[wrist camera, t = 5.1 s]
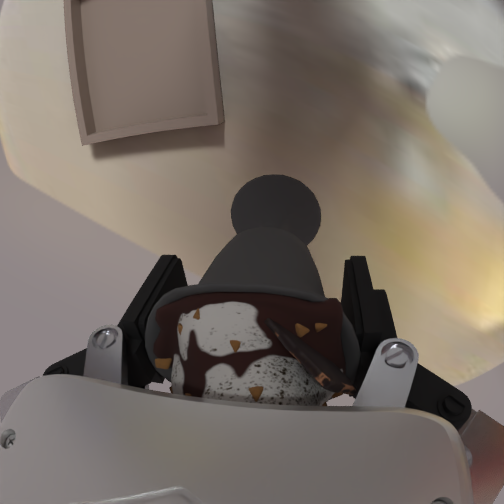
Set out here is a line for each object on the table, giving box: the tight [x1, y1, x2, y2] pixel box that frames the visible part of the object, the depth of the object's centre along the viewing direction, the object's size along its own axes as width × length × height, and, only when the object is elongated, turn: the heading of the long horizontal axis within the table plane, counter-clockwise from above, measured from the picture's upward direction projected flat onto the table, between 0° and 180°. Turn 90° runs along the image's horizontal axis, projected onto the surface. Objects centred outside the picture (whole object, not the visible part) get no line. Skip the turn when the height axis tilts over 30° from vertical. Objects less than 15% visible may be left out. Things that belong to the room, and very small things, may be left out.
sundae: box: [145, 175, 361, 406], centre depth 12 cm, size 7×7×15 cm
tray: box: [64, 0, 225, 146], centre depth 26 cm, size 20×16×2 cm
